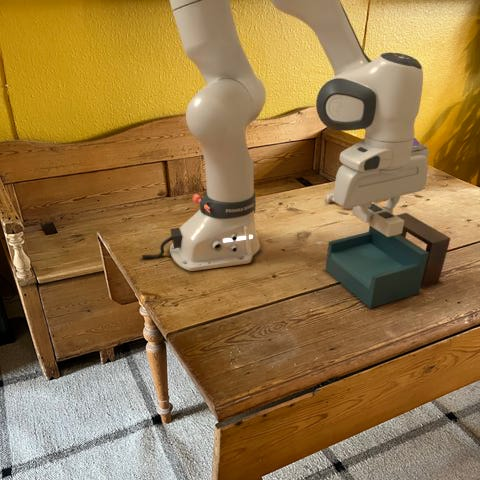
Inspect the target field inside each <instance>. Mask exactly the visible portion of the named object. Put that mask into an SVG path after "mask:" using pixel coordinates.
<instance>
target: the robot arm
mask: <svg viewBox="0 0 480 480" xmlns="http://www.w3.org/2000/svg"><path fill="white" fill-rule="evenodd" d="M269 1H270V2H271V4H272V5H273V7H274V8H275V9H276V10H278V11H279V12H281V13H284V14H285V15H288V16H291V17H293V18H295V19H297V20H300V21H301V22H303V23H304V24H305V25H307V26H308V27H309V28H310V29H311V30H312V31H313V33H314V34H315V36H316V37H317V40H318V42H319V44H320V46H321V49H322V50H323V52H324V54H325V56H326V59H327V60H328V62H329V64H330V66H331V69H332V71H333V74H334V76H333V77H331V78H330V79H328V80H327V81H326V82H325V83H324V84H323V85H322V86H321V88H319V91H318V93H317V96H316V102H315V106H316V108H315V109H316V112H317V115H318V118H319V120H320V121H321V123H322V124H323V125H324V126H325V127H327V128H328V129H330V130H333V131H337V132H347V131H357V130H364V131H365V132H364V137H363V138H362V139H360V140H359V141H357V142H356V143H355V144H352V145H351V146H348V147H347V148H346V149H344V150H343V151H341V152H340V154H339V162H340V164H342V165H341V166H340V167H339V168H338V170H337V172H336V176H335V181H334V187H333V192H334V200H335V202H334V203H335V204H337V205H338V206H339V207H343V208H342V209H345V210H348V209H347V208H351V207H356V206H360V209H361V211H362V212H363V213H362V220H363V221H362V220H361V221H362V222H363V223H365V222H366V223H365V224H367V222H370V221H372V220H373V213H371V212H370V211H369V209H368V207H371V203H372V202H373V203H377V202H381V201H384V200H387V202H386V203H385V206H381V207H382V208H384V209H385V210H387V211H389V212H390V213H392V214H394V213H393V212H394V209H395V208H396V207H397V205H398V203H399V202H400V198H401V196H405V195H410V194H414V193H418V192H422V191H423V190H424V188H425V187H426V184H427V180H428V179H427V178H428V171H429V170H428V169H429V161H428V158H429V153H430V152H429V151H430V150H429V148H428V146H426V145H425V144H423V143H420V144H418V145H416V146H413V140H414V138H415V122H416V118H417V117H418V115H419V112H420V107H421V101H422V94H423V86H424V71H423V66H422V64H421V63H420V61H419V60H417V58H414V57H413V56H411V55H408V54H404V53H401V52H400V53H399V52H383V53H381V54H379V55H378V57H376V58H375V59H373V60H372V59H371V58H369V56H368V55H367V54H366V52H365V51H364V49H363V47H362V45H361V43H360V40H359V39H358V36H357V34H356V32H355V30H354V27H353V26H352V23H351V22H350V21H351V20H350V19H349V17H348V14H347V11H346V10H345V8H344V7H343V4H342V2H341V0H269ZM169 5H170V8H171V12H172V14H173V18H174V21H175V24H176V29H177V31H178V34H179V38H180V41H181V44H182V48H183V51H184V54H185V56H186V57H187V58H188V60H190V61H191V62H192V63H193V64H194V65H195V66H196V67H197V69H198V71H199V72H200V75H201V77H202V78H203V80H204V82H205V84H206V85H205V86H204V87H201V88H200V89H199V90H198V91H197V92H196V93H195V95H193V97H192V98H191V100H190V101H189V102H188V104H187V107H186V110H185V121H186V126H187V128H188V130H189V132H190V134H191V135H192V136H193V137H194V138H195V139H196V140H197V141H198V143H199V147H200V149H201V153H202V156H203V160H204V169H205V170H204V171H205V184H206V185H205V186H206V192H205V194H204V196H203V197H202V196H201V195H200V194H199V193H195V194H194V195H193V196H192V201H193V202H194V203H195V204H196V205H199V209H198V211H196V212H195V213H194V214H193V215H192V216H191V217H190V218H188V220H186V221H185V222H184V223H183V224H181V226H180V227H174V228H173V227H172V228H170V229H169V230H170V237H168V238H166V239H165V240H163V242H162V243H161V244H160V245H159V246H160V249H159V250H160V252H159V253H158V254H142V256H141V257H142V259H149V260H150V259H151V260H152V259H159V258H161V257H162V256H163V255H164V254H165V246H166V245H167V244H168V243H169V242H172V243H170V246H169V254H170V256H171V258H172V260H173V261H174V262H175V263H176V265H178V266H179V267H181V268H182V269H184V270H187V271H189V272H195V271H203V270H210V269H216V268H217V269H218V268H224V267H225V268H226V267H231V266H239V265H247V264H250V263H251V262H252V260H253V257H254V256H255V254H257V253H258V252H259V250H260V248H261V244H260V241H259V237H258V233H257V229H256V227H257V226H256V219H255V214H256V210H257V209H256V205H257V204H256V203H257V201H256V200H257V199H256V191H255V188H254V187H255V160H254V158H253V156H252V155H251V154H250V151H249V147H248V143H247V135H246V134H247V133H246V132H247V127H248V126H249V125H251V124H252V123H253V122H254V121H256V120H257V119H258V117H260V114H261V113H262V111H263V109H264V106H265V104H266V102H267V101H266V100H267V99H266V98H267V91H266V87H265V85H264V83H263V81H262V80H261V78H260V77H259V76H257V75H256V73H255V71H254V70H253V67H252V65H251V64H250V61H249V59H248V57H247V54H246V52H245V50H244V47H243V45H242V43H241V40H240V37H239V34H238V30H237V27H236V23H235V19H234V16H233V12H232V9H231V8H232V7H231V4H230V0H169ZM351 209H352V208H351Z"/></svg>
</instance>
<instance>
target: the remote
mask: <svg viewBox="0 0 480 480" xmlns="http://www.w3.org/2000/svg"><path fill="white" fill-rule="evenodd" d="M382 207H383V206H380V205H378V204H377V203H376V202H372V203H371V207H368V209H369V211H370V212H371V213H373V220H372V221H370V222H367V223H366V222H364V221H363V220H362V213H363V212H362V211H361V209H360V206H356V207H353V208H352V210H351V214H352V215H353V216H354V217H355V218H357V219H358V220H361V221H362V222H364V223H365V224H367V225H368V226H371V227H373V228H375V229H376V230H378V231H379V232H381V233H382V234H384V235H386V236H387V237H390V236H394V235H397V234H401V233H402V230H403V225H404V220H403V219H401V218H399V217H397V216H396V215H397V214H394V213H390V212H389V211H387V210H385V209H384V208H382Z"/></svg>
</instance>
